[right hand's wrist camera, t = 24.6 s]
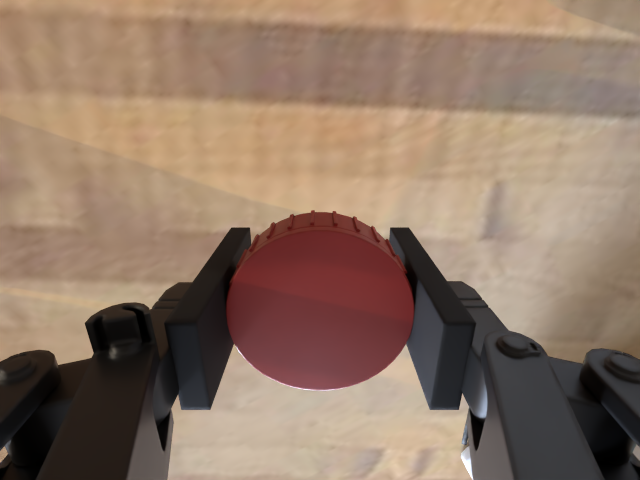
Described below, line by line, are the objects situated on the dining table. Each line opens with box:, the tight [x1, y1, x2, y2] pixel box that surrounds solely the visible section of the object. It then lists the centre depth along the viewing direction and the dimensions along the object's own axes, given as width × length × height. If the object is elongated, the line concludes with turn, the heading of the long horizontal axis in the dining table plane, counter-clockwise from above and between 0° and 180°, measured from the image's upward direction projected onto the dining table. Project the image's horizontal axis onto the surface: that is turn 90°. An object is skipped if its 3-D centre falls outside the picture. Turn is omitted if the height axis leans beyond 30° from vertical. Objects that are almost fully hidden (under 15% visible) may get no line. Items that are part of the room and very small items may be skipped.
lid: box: [226, 210, 414, 390], centre depth 11 cm, size 6×6×2 cm
